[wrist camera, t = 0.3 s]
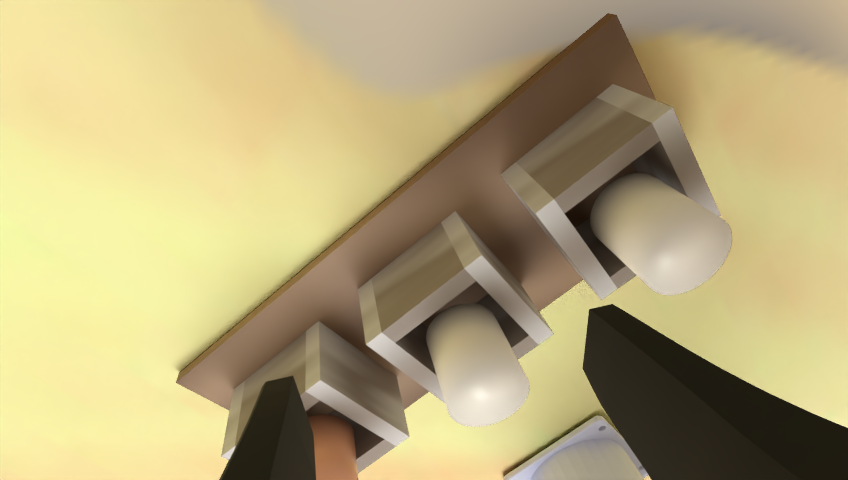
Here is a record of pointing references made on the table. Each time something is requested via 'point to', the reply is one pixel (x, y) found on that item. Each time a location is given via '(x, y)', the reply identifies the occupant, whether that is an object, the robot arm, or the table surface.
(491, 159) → the board
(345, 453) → the terracotta plug
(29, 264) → the table surface
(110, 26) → the table surface
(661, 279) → the plug
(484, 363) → the plug
